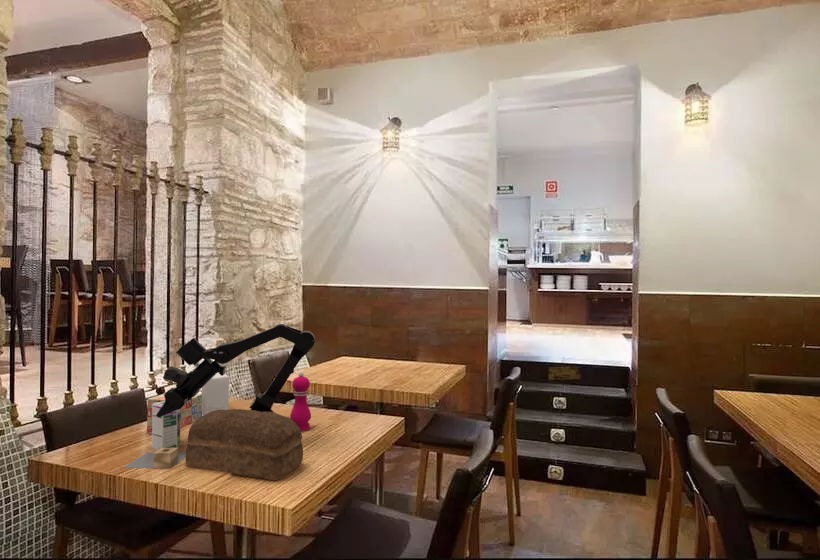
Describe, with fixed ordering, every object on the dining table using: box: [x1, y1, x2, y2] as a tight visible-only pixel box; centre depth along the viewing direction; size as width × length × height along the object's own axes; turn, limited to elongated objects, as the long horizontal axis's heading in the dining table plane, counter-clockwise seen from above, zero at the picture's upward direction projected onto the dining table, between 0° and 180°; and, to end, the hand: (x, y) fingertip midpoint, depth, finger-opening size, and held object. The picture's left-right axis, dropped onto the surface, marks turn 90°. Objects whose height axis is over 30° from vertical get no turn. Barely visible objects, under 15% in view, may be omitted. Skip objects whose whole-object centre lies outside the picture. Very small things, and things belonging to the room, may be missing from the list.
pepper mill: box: [289, 371, 312, 432], centre depth 167 cm, size 7×7×20 cm
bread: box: [185, 408, 304, 481], centre depth 132 cm, size 15×32×16 cm, turn 74°
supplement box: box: [201, 373, 230, 416], centre depth 186 cm, size 9×9×15 cm
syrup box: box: [151, 401, 181, 451], centre depth 145 cm, size 6×6×14 cm
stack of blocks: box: [146, 392, 203, 436], centre depth 169 cm, size 21×6×12 cm, turn 170°
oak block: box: [152, 447, 179, 469], centre depth 130 cm, size 4×4×4 cm
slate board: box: [122, 452, 186, 470], centre depth 134 cm, size 13×12×1 cm
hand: (161, 412), depth 144 cm, fingers closed on syrup box, 8 cm apart
